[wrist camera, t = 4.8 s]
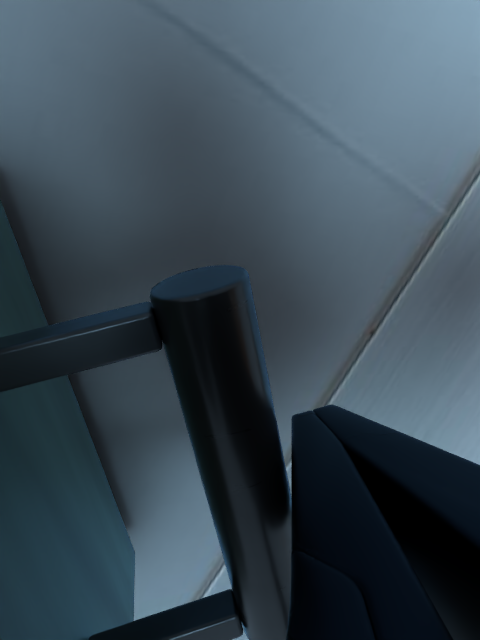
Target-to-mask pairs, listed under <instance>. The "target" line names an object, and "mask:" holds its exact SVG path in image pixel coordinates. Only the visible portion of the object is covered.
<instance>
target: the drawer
mask: <svg viewBox="0 0 480 640" xmlns="http://www.w3.org/2000/svg"><path fill="white" fill-rule="evenodd" d="M150 299H151V302H143V303H138V304H134V305H130V306H126V307H122V308H118V309H114V310H110V311H106V312H102V313H98V314H94V315H90V316H86V317H82V318H77V319H73V320H69V321H65V322H61V323H57V324H53V325H49V326H48V323H47V321H46V318H45V315H44V313H43V310H42V307H41V305H40V302H39V300H38V297H37V294H36V292H35V289H34V287H33V284H32V281H31V279H30V276H29V273H28V271H27V268H26V266H25V263H24V260H23V258H22V255H21V252H20V250H19V247H18V245H17V242H16V239H15V237H14V234H13V232H12V229H11V226H10V224H9V221H8V218H7V216H6V213H5V211H4V208H3V205H2V203H1V200H0V640H231V639H234V638H237V637H240V636H242V635H243V628H244V631H245V634H246V636H247V637H248V639H249V640H286V635H287V626H288V617H289V609H290V589H291V552H292V548H291V506H292V498H291V493H290V488H289V483H288V477H287V472H286V467H285V462H284V457H283V451H282V446H281V441H280V436H279V430H278V425H277V420H276V415H275V409H274V404H273V399H272V394H271V389H270V383H269V378H268V373H267V368H266V362H265V357H264V352H263V347H262V341H261V336H260V331H259V326H258V321H257V315H256V310H255V305H254V300H253V294H252V289H251V284H250V279H249V274H248V272H247V271H246V270H245V269H244V268H242V267H239V266H233V265H215V266H207V267H201V268H196V269H192V270H188V271H185V272H182V273H179V274H176V275H173V276H171V277H169V278H167V279H165V280H163V281H161V282H159V283H158V284H156V285H155V286H154V287H153V288H152V289H151V292H150ZM162 342H163V345H164V349H165V352H166V356H167V359H168V363H169V367H170V370H171V374H172V377H173V381H174V384H175V388H176V391H177V395H178V398H179V402H180V405H181V409H182V413H183V416H184V420H185V423H186V427H187V430H188V434H189V437H190V441H191V444H192V448H193V451H194V455H195V459H196V462H197V466H198V469H199V473H200V476H201V480H202V483H203V487H204V490H205V494H206V498H207V501H208V505H209V508H210V512H211V515H212V519H213V522H214V526H215V529H216V533H217V536H218V540H219V544H220V547H221V551H222V554H223V558H224V561H225V565H226V568H227V572H228V575H229V579H230V583H231V586H232V589H229V590H226V591H223V592H220V593H217V594H214V595H211V596H208V597H205V598H202V599H199V600H196V601H193V602H190V603H187V604H184V605H181V606H178V607H175V608H172V609H169V610H166V611H163V612H160V613H157V614H154V615H151V616H148V617H145V618H142V619H139V620H136V621H134V576H135V551H134V548H133V546H132V543H131V541H130V538H129V535H128V533H127V530H126V527H125V525H124V522H123V520H122V517H121V514H120V512H119V509H118V507H117V504H116V501H115V499H114V496H113V493H112V491H111V488H110V486H109V483H108V480H107V478H106V475H105V472H104V470H103V467H102V465H101V462H100V459H99V457H98V454H97V452H96V449H95V446H94V444H93V441H92V438H91V436H90V433H89V431H88V428H87V425H86V423H85V420H84V417H83V415H82V412H81V410H80V407H79V404H78V402H77V399H76V397H75V394H74V391H73V389H72V386H71V383H70V381H69V378H68V376H67V375H69V374H73V373H77V372H80V371H84V370H88V369H92V368H96V367H100V366H103V365H107V364H111V363H115V362H119V361H123V360H127V359H130V358H134V357H138V356H142V355H146V354H150V353H153V352H157V351H159V350H161V349H162ZM241 621H242V622H241ZM242 625H243V627H242Z"/></svg>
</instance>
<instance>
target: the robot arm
mask: <svg viewBox="0 0 480 640" xmlns="http://www.w3.org/2000/svg"><path fill="white" fill-rule="evenodd" d="M291 548H292V552H291V589H290V609H289V617H288V626H287V635H286V640H480V465H478V464H476V463H473V462H471V461H469V460H466V459H464V458H461V457H459V456H456V455H454V454H452V453H449V452H447V451H444V450H442V449H439V448H437V447H435V446H432V445H430V444H427V443H425V442H423V441H420V440H418V439H415V438H413V437H410V436H408V435H406V434H403V433H401V432H398V431H396V430H394V429H391V428H389V427H386V426H384V425H381V424H379V423H377V422H374V421H372V420H369V419H367V418H364V417H362V416H360V415H357V414H355V413H352V412H350V411H348V410H345V409H343V408H340V407H338V406H335V405H327V406H324V407H320V408H317V409H314V410H313V411H306V412H303V413H299V414H296V415H293V416H292V506H291Z"/></svg>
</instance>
